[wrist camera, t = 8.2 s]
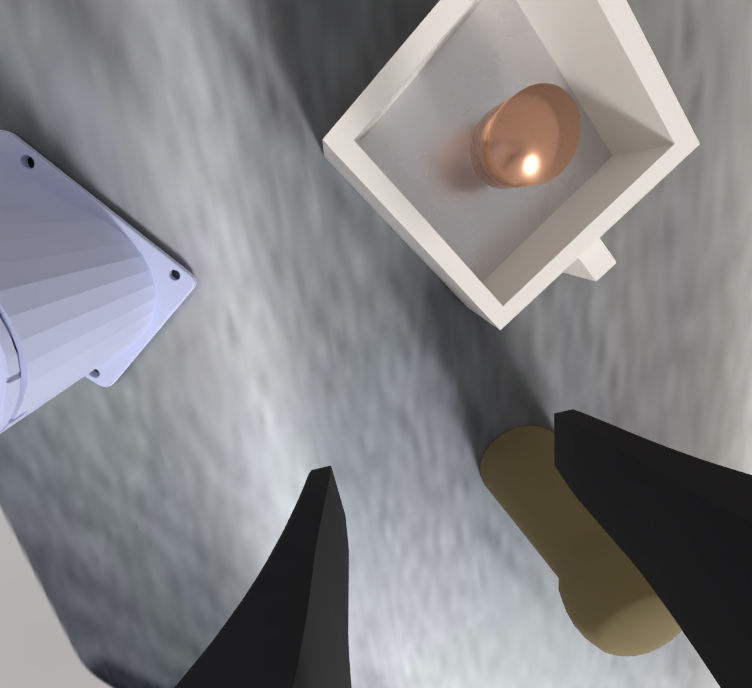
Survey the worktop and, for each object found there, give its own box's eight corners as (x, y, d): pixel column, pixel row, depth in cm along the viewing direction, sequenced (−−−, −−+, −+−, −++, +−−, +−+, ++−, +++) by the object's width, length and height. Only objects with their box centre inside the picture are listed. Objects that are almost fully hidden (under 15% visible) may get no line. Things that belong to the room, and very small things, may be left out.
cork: (552, 493, 27) (691, 670, 16) (474, 498, 26) (569, 687, 16) (570, 423, 25) (743, 576, 14) (486, 426, 24) (605, 590, 14)
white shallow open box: (324, 156, 17) (322, 139, 13) (494, -45, 15) (556, -138, 11) (487, 328, 21) (525, 356, 17) (636, 187, 19) (719, 181, 15)
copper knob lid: (348, 155, 17) (355, 134, 12) (496, -16, 15) (571, -117, 11) (470, 288, 20) (514, 313, 15) (605, 157, 18) (701, 138, 14)
